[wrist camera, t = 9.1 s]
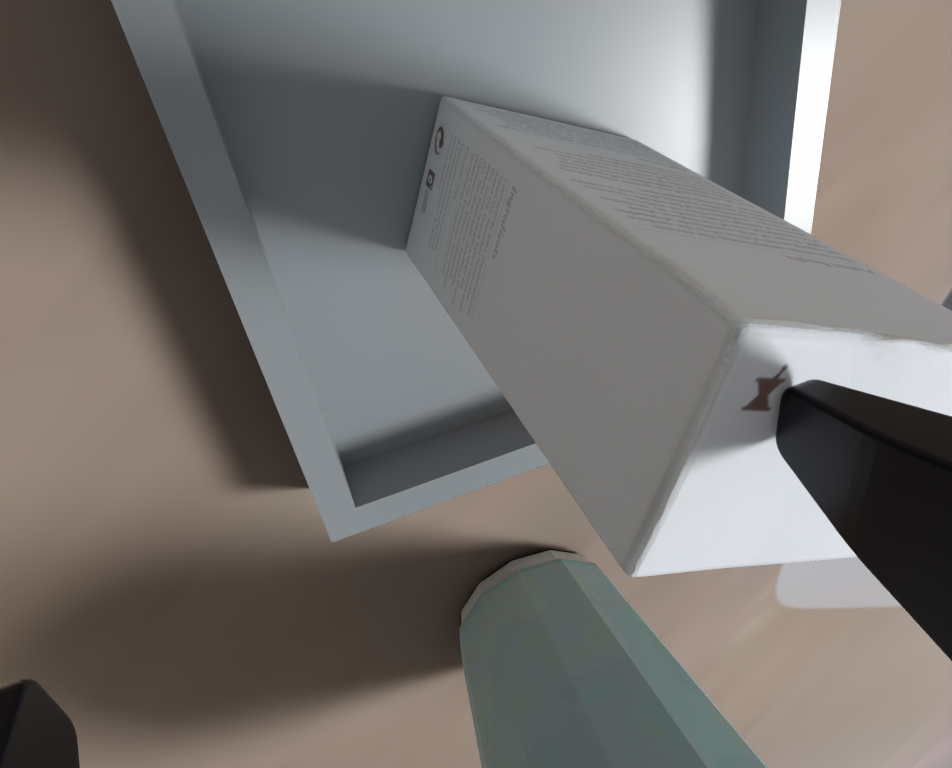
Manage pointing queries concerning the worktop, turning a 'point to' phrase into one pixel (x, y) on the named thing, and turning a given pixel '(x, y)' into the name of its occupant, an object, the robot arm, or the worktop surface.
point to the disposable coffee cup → (581, 677)
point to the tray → (400, 176)
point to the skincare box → (658, 332)
